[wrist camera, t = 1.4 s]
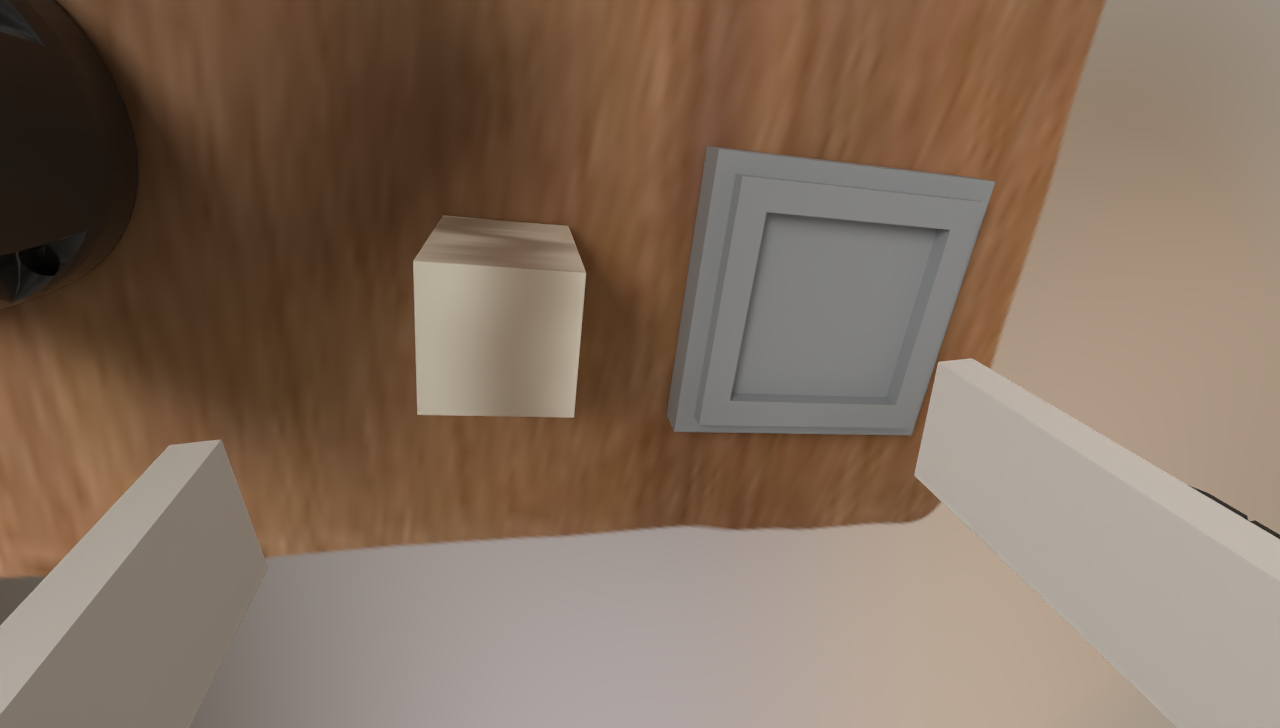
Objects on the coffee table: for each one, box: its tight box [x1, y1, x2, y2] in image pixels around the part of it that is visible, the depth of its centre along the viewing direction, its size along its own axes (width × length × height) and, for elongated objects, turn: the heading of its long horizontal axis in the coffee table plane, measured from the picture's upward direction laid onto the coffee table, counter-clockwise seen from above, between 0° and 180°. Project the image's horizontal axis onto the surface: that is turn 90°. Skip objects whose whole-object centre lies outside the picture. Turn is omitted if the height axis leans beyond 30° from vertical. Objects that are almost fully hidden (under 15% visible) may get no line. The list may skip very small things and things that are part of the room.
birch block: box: [413, 215, 586, 418], centre depth 27 cm, size 6×6×9 cm
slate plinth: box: [667, 146, 995, 435], centre depth 33 cm, size 15×15×3 cm
